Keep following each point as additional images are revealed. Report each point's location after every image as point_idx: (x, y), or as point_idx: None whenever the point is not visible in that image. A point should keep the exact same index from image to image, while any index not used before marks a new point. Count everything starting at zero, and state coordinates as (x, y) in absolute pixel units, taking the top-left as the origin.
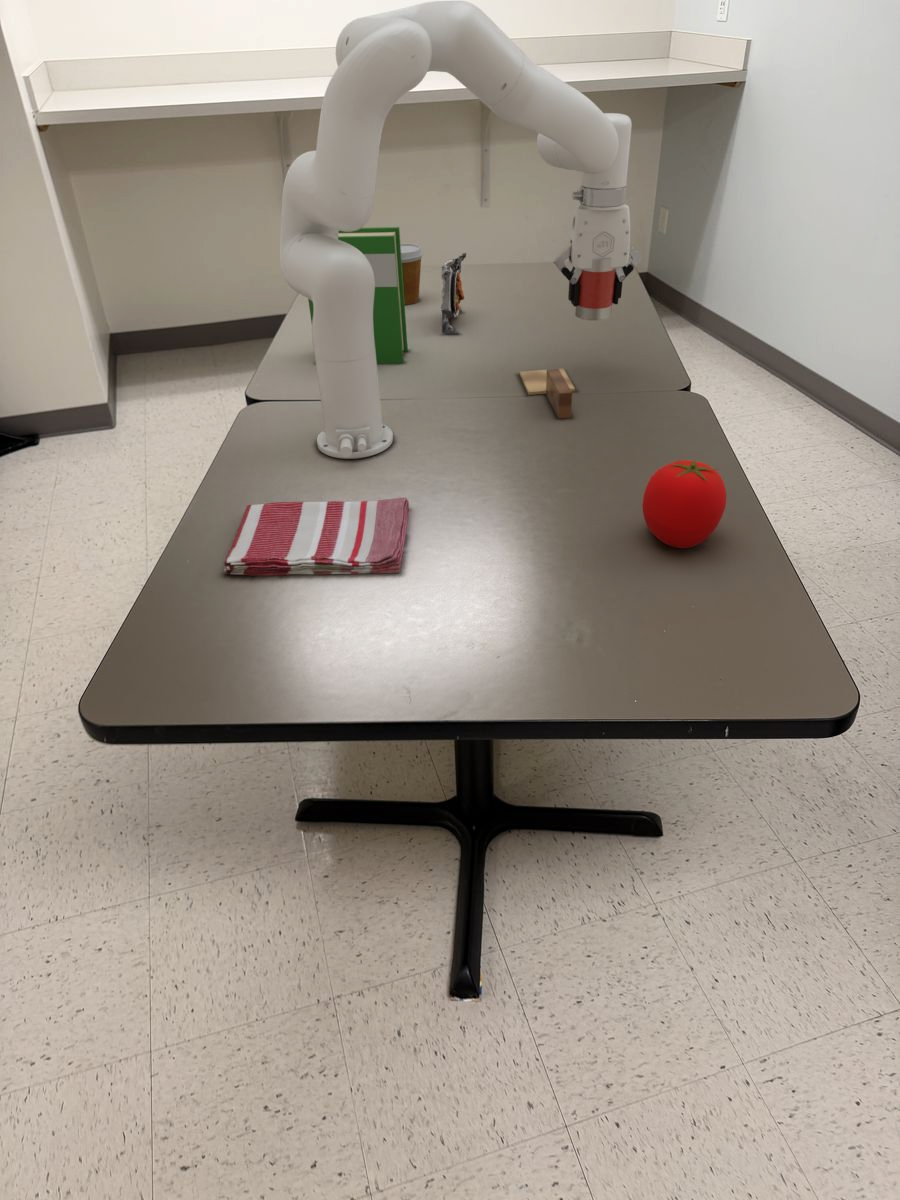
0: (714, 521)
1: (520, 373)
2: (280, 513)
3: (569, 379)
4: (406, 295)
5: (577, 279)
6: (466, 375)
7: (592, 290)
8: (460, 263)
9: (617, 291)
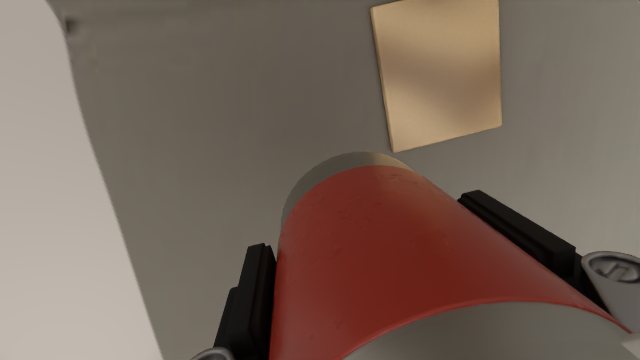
0: None
1: (501, 115)
2: None
3: (383, 76)
4: None
5: (597, 281)
6: (615, 117)
7: (437, 204)
8: None
9: (248, 284)
